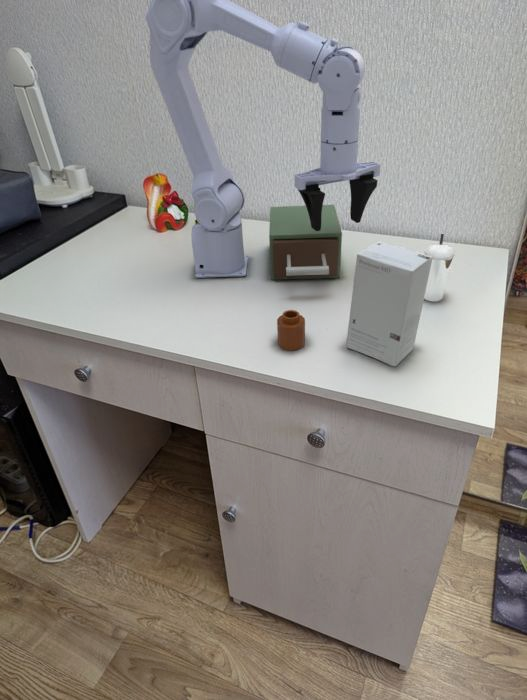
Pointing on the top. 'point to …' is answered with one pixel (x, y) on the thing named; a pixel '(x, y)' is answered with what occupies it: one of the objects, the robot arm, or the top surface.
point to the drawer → (305, 257)
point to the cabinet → (302, 229)
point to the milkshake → (438, 269)
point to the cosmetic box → (387, 301)
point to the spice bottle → (291, 330)
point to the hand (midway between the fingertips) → (335, 224)
